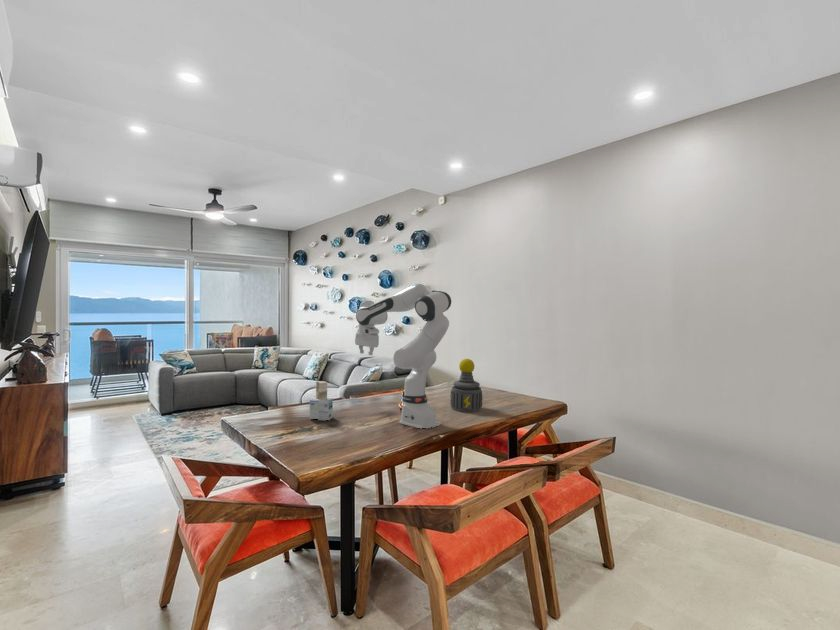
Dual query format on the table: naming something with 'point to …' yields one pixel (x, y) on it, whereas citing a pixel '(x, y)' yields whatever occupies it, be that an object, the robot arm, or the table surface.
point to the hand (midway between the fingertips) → (366, 354)
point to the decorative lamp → (466, 390)
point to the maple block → (321, 390)
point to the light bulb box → (321, 409)
